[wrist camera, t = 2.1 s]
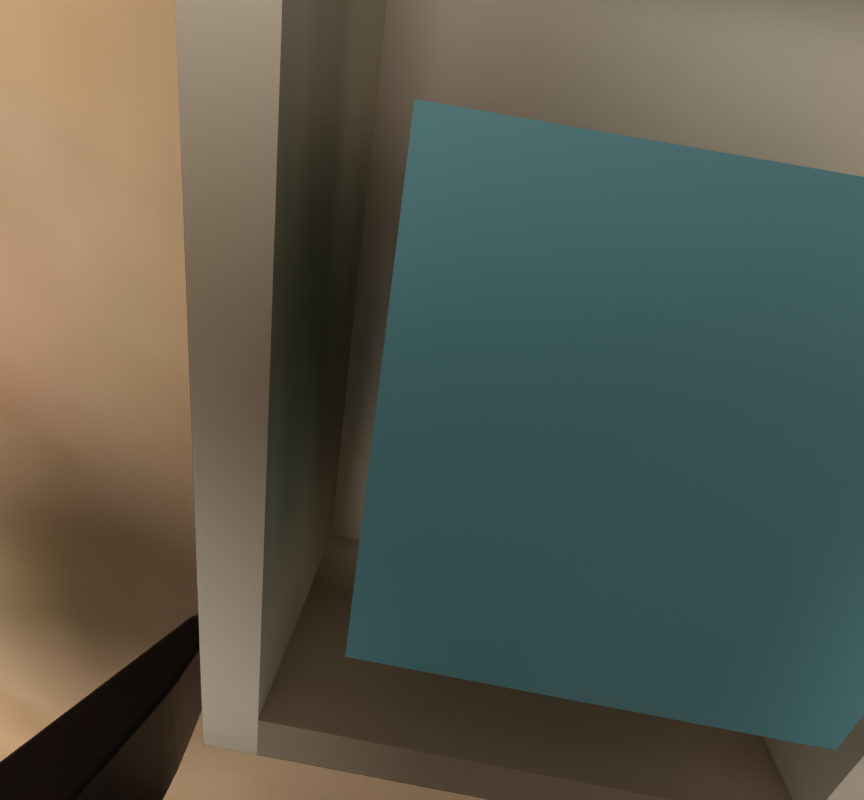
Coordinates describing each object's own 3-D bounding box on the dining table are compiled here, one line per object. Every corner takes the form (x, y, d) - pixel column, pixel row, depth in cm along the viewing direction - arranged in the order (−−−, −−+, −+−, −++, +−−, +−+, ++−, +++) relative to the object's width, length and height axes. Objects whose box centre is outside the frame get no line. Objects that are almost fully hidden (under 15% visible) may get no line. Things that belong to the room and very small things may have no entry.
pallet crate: (699, 591, 9) (834, 866, 6) (310, 518, 9) (203, 743, 6) (1026, -46, 6) (2045, -411, 2) (364, -163, 6) (147, -730, 2)
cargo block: (687, 494, 7) (835, 751, 4) (404, 442, 7) (345, 655, 4) (822, 191, 6) (1238, 242, 3) (454, 126, 6) (413, 99, 3)
